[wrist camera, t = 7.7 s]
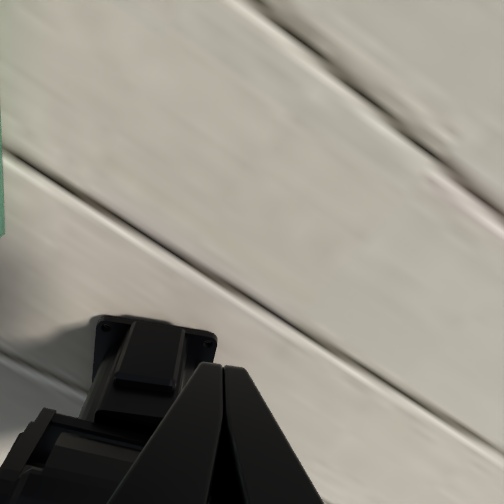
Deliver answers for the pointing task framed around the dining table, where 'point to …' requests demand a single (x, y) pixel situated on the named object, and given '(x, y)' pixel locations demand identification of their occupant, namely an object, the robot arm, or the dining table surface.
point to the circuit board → (1, 191)
